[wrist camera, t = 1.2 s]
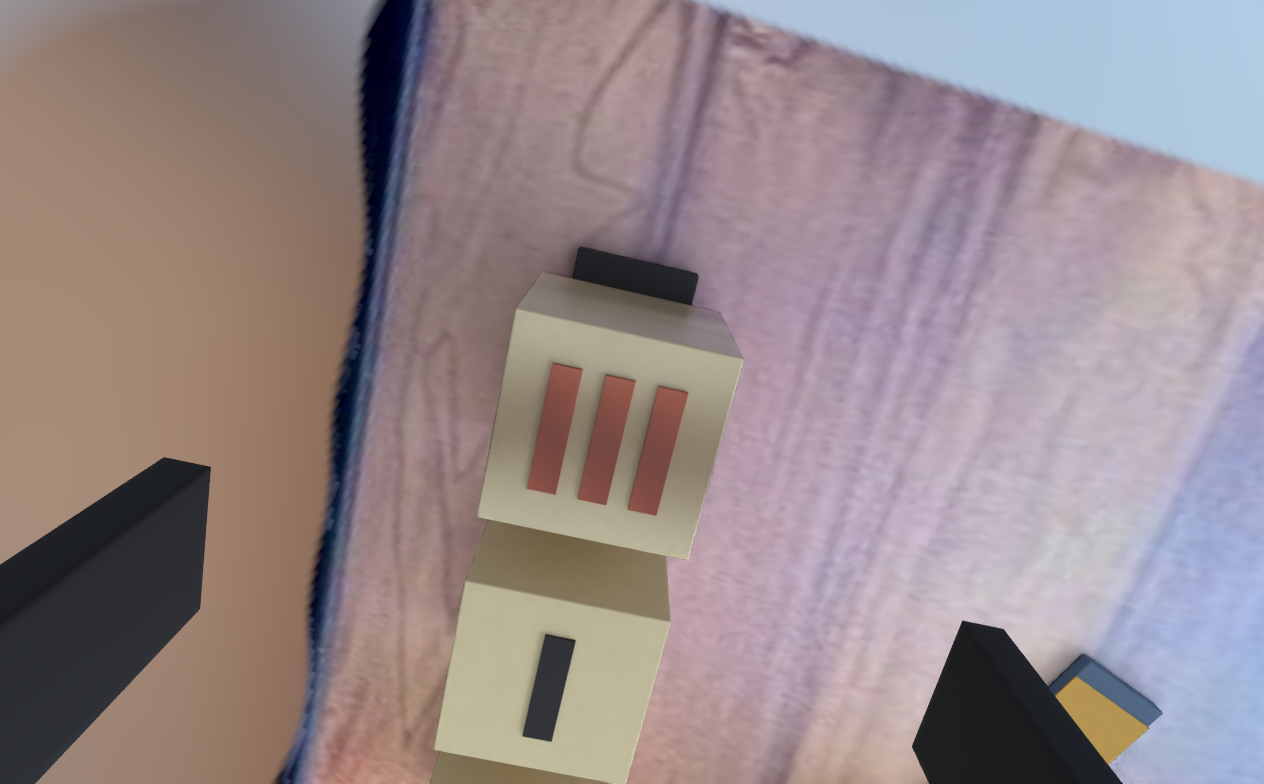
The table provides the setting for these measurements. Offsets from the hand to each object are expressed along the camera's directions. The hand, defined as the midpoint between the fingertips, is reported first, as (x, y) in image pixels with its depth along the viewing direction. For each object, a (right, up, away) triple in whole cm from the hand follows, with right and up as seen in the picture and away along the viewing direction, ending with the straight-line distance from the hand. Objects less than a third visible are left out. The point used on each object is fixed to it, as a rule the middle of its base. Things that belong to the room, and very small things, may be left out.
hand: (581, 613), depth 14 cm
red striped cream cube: (0, +4, +13) cm, 14 cm away
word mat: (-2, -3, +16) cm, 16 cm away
